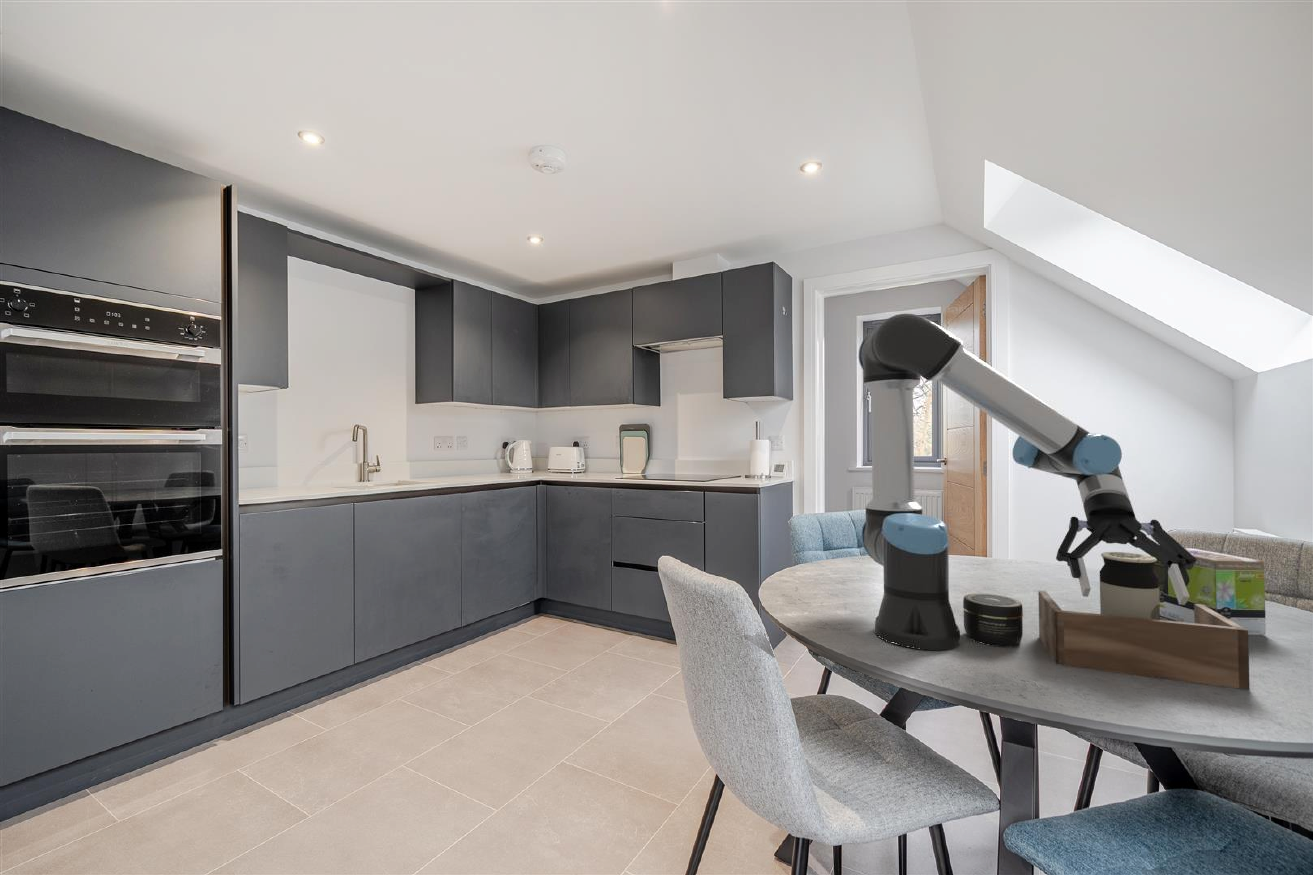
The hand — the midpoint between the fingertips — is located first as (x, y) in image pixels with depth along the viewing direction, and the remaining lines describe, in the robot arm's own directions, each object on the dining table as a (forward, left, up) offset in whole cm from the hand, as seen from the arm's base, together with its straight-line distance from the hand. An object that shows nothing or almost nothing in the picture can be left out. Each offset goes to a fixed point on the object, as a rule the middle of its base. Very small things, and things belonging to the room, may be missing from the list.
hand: (1134, 596), depth 99 cm
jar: (-14, +16, -11) cm, 24 cm away
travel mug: (-1, 0, -11) cm, 11 cm away
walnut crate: (-1, 0, -11) cm, 11 cm away
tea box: (+35, +7, -11) cm, 37 cm away
